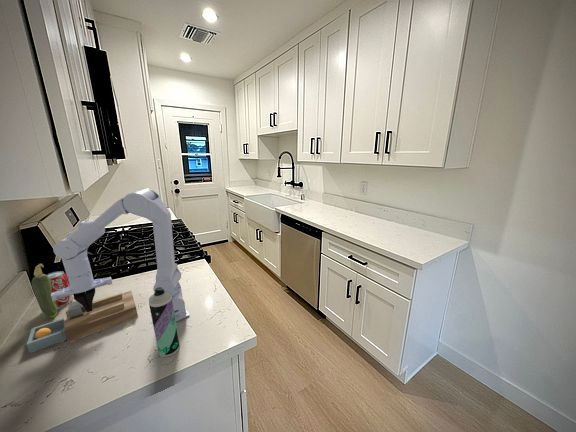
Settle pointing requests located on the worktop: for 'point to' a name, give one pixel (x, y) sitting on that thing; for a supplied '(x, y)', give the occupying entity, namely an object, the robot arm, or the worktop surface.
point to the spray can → (164, 322)
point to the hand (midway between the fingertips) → (89, 310)
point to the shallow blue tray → (55, 337)
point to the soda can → (59, 286)
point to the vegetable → (43, 292)
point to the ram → (75, 310)
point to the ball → (42, 333)
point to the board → (101, 316)
